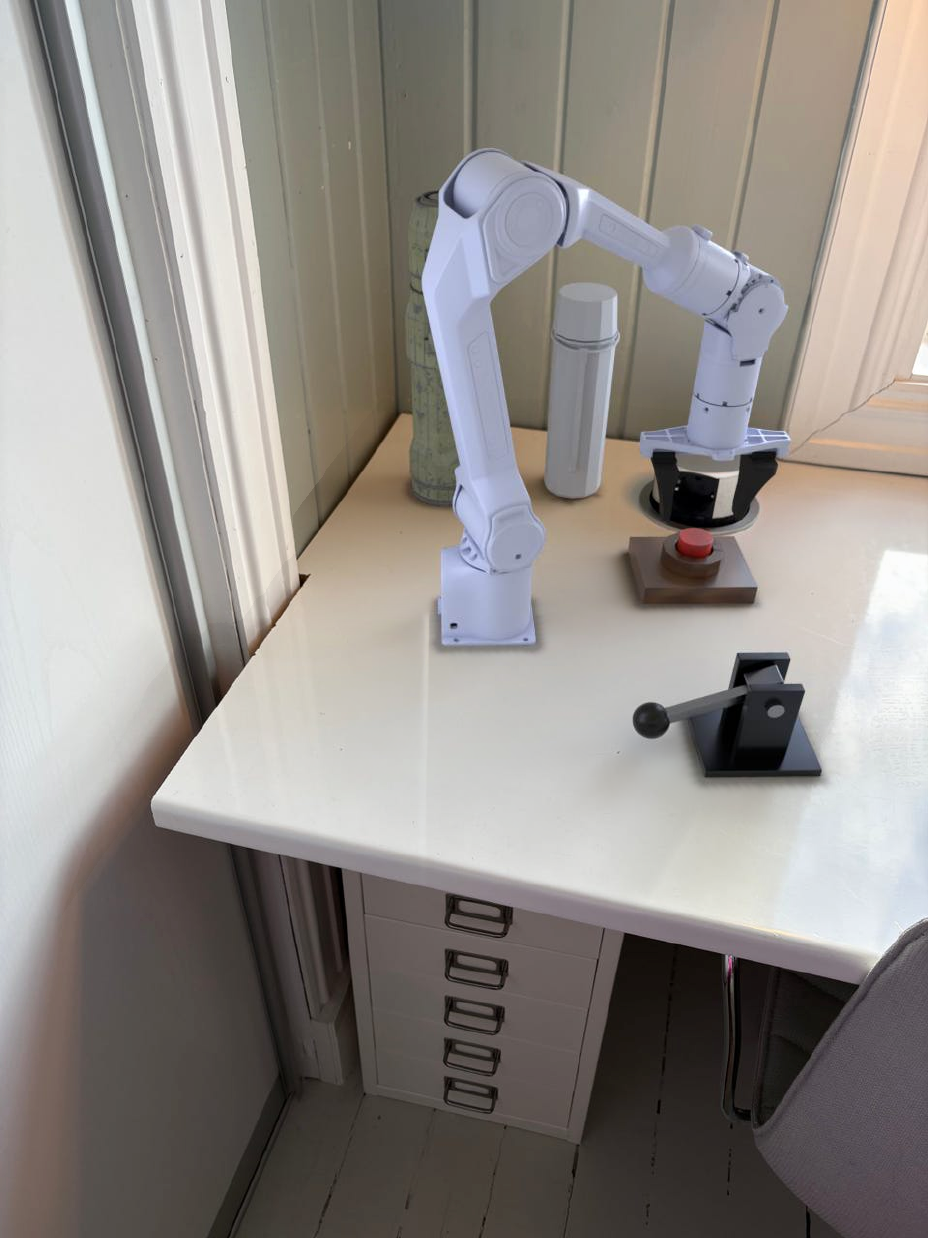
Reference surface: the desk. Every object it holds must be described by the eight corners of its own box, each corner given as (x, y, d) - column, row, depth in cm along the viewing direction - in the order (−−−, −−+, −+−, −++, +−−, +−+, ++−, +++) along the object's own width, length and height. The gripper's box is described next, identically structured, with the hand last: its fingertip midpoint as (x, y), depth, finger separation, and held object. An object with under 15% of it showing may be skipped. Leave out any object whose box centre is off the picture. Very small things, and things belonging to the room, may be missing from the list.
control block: (642, 604, 99) (647, 574, 97) (627, 552, 107) (631, 523, 105) (753, 603, 99) (761, 573, 97) (730, 552, 107) (737, 522, 105)
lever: (641, 750, 81) (631, 726, 79) (635, 724, 83) (625, 700, 81) (791, 708, 78) (784, 682, 76) (780, 682, 80) (773, 656, 78)
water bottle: (542, 471, 122) (555, 279, 107) (602, 476, 121) (624, 282, 106) (537, 507, 115) (550, 306, 99) (601, 512, 114) (624, 310, 99)
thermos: (481, 466, 123) (486, 182, 102) (478, 513, 114) (484, 210, 92) (414, 464, 123) (406, 180, 102) (406, 511, 114) (395, 209, 92)
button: (680, 559, 100) (682, 545, 98) (673, 541, 102) (676, 527, 101) (713, 559, 100) (716, 545, 99) (706, 541, 102) (708, 527, 101)
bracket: (704, 779, 79) (722, 704, 74) (684, 715, 86) (700, 641, 80) (819, 778, 80) (846, 703, 74) (792, 714, 86) (814, 640, 81)
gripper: (655, 412, 86) (637, 536, 94) (811, 412, 86) (780, 535, 94) (642, 381, 91) (627, 500, 100) (789, 380, 92) (761, 500, 100)
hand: (700, 515), depth 97 cm, fingers open, 7 cm apart
